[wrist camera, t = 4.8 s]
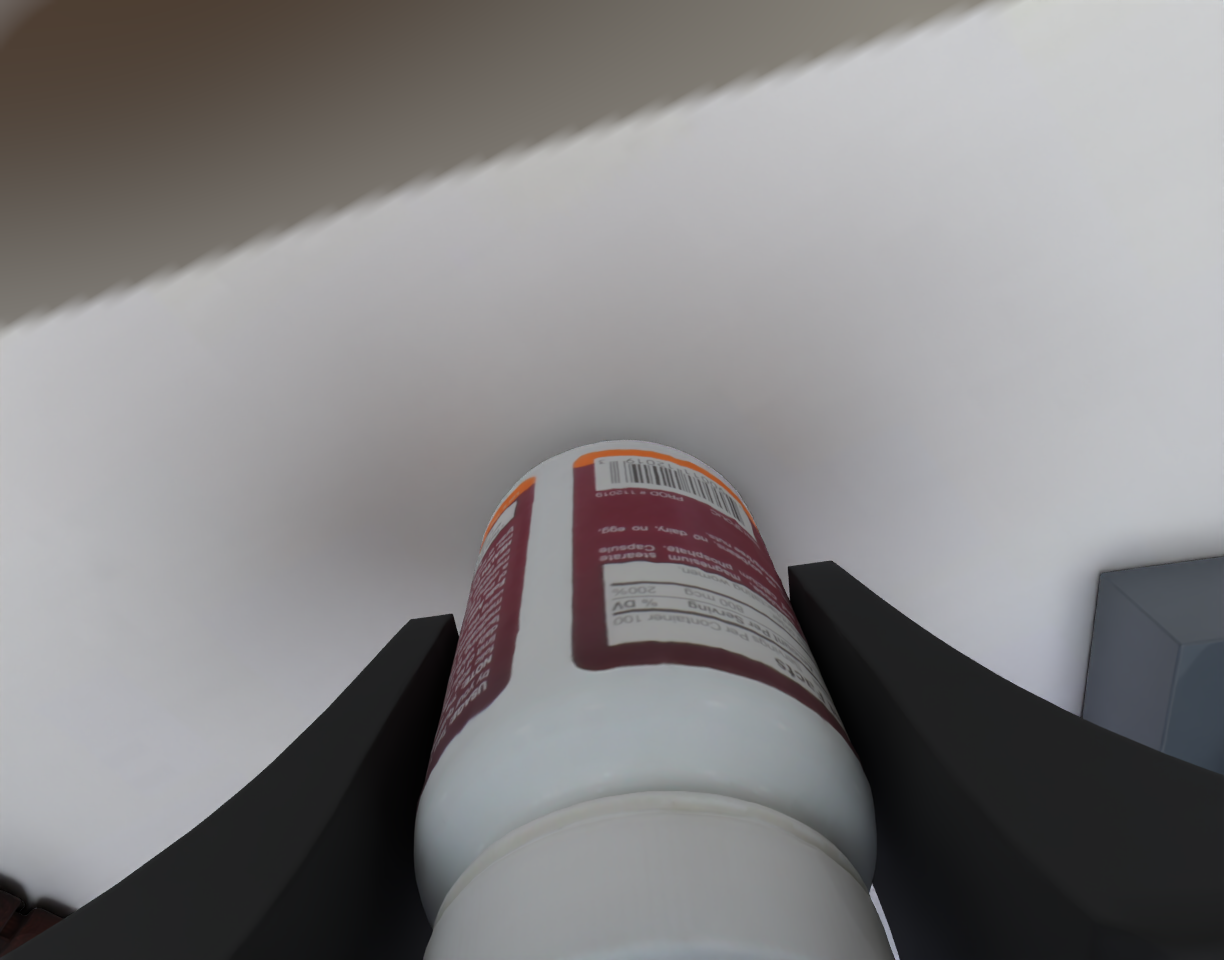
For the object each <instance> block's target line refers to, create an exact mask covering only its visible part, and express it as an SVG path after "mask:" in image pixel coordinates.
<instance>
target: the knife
mask: <svg viewBox="0 0 1224 960" xmlns="http://www.w3.org/2000/svg"><path fill="white" fill-rule="evenodd" d="M24 907H25V904H24V902H23V901H22V900H21V899H19V898H18V897H15V896H13V895H11V894H9V893H7V892H5V891H2V890H0V958H1V957H2V956H4V955H6V954H7V953H9V952H11V951H13V950H14V949H16V948H18V947H19V946H21V945H23V944H24V943H26V942H27V941H29V940H31V939H32V938H34V937H35V936H37V935H39V934H40V933H42V932H44V931H45V930H47V929H48V928H50V927H52V926H53V925H55V924H56V923H58V922H60V921H61V920H63V918H61V917H59V916H56V915H54V914H52V913H50V912H48V911H46V910H43V909H41V908H35V909H32V910H31V911H30V913H29V914H28V915H26V916H24V915H22V914H20V913H19V912H20V911H21V910H22V909H23V908H24Z"/></svg>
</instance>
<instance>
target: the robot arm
mask: <svg viewBox="0 0 1224 960" xmlns="http://www.w3.org/2000/svg"><path fill="white" fill-rule="evenodd" d="M788 576H789V592H790V602H791V605H792V608H793V610H794V613H795V615H796V617H797V620H798V622H799V624H800V626H801V629H802V631H803V634H804V636H805V638H806V640H807V642H808V645H809V647H810V650H811V652H812V654H813V657H814V659H815V661H816V663H817V665H818V668H819V670H820V673H821V676H822V678H823V681H824V683H825V685H826V687H827V689H828V691H829V693H830V696H831V698H832V701H833V703H834V705H835V708H836V710H837V712H838V714H839V717H840V719H841V721H842V723H843V725H844V728H845V730H846V732H847V734H848V737H849V739H850V741H851V744H852V745H853V747H854V749H855V750H856V752H857V754H858V755H859V758H860V761H861V763H862V766H863V769H864V772H865V774H866V777H867V779H868V782H869V784H870V787H871V792H872V797H873V802H874V810H875V820H876V830H877V857H876V865H875V871H874V877H873V881H872V884H873V886H874V888H875V891H876V893H877V896H878V898H879V901H880V904H881V906H882V909H883V911H884V914H885V917H886V919H887V922H888V924H889V927H890V930H891V933H892V936H893V939H894V942H895V946H896V949H897V952H898V955H899V958H900V960H1224V775H1222V774H1219V773H1216V772H1213V771H1211V770H1208V769H1205V768H1202V767H1200V766H1197V765H1194V764H1192V763H1189V762H1186V761H1184V760H1181V759H1178V758H1176V757H1173V756H1170V755H1168V754H1165V753H1163V752H1160V751H1158V750H1155V749H1153V748H1150V747H1148V746H1146V745H1143V744H1141V743H1138V742H1136V741H1134V740H1131V739H1129V738H1127V737H1124V736H1122V735H1119V734H1117V733H1115V732H1112V731H1110V730H1108V729H1105V728H1103V727H1100V726H1098V725H1096V724H1094V723H1092V722H1090V721H1087V720H1085V719H1083V718H1081V717H1079V716H1076V715H1074V714H1072V713H1070V712H1068V711H1066V710H1064V709H1062V708H1060V707H1058V706H1056V705H1054V704H1052V703H1050V702H1048V701H1046V700H1044V699H1042V698H1040V697H1038V696H1036V695H1034V694H1032V693H1031V692H1029V691H1027V690H1025V689H1023V688H1021V687H1019V686H1017V685H1015V684H1013V683H1011V682H1010V681H1008V680H1006V679H1004V678H1002V677H1001V676H999V675H997V674H995V673H994V672H992V671H990V670H989V669H987V668H985V667H984V666H982V665H980V664H979V663H977V662H975V661H974V660H972V659H970V658H969V657H967V656H965V655H964V654H962V653H961V652H959V651H957V650H956V649H954V648H952V647H951V646H949V645H948V644H946V643H945V642H943V641H942V640H940V639H939V638H937V637H936V636H934V635H933V634H931V633H930V632H928V631H927V630H925V629H924V628H922V627H921V626H919V625H918V624H916V623H915V622H914V621H912V620H911V619H909V618H908V617H906V616H905V615H904V614H902V613H901V612H899V611H898V610H897V609H895V608H894V607H893V606H891V605H890V604H888V603H887V602H886V601H884V600H883V599H882V598H880V597H879V596H878V595H876V594H875V593H874V592H872V591H871V590H870V589H869V588H867V587H866V586H865V585H863V584H862V583H861V582H859V581H858V580H857V579H855V578H854V577H853V576H851V575H850V574H849V573H848V572H846V571H845V570H844V569H842V568H841V567H840V566H838V565H837V564H836V563H834V562H833V561H824V562H817V563H810V564H803V565H796V566H789V567H788ZM458 640H459V635H458V631H457V628H456V624H455V620H454V617H453V614H446V615H439V616H432V617H424V618H417V619H411V620H410V621H409V622H408V623H407V624H406V625H405V626H404V627H402V629H401V630H400V631H399V632H398V633H397V634H396V635H395V636H394V637H393V638H392V639H391V640H390V641H389V642H388V644H387V645H386V646H385V647H384V648H383V649H382V650H381V651H380V652H379V653H378V654H377V656H376V657H375V658H374V659H373V660H372V661H371V662H370V663H369V664H368V665H367V667H366V668H365V669H364V670H363V671H362V672H361V673H360V674H359V675H358V676H357V677H356V678H355V680H354V681H353V682H352V683H351V684H350V685H349V686H348V687H347V688H346V689H345V690H344V691H343V692H342V693H341V694H340V696H339V697H338V698H337V699H336V700H335V701H334V702H333V703H332V704H331V705H330V706H329V707H328V708H327V709H326V710H325V711H324V712H323V713H322V714H321V715H320V716H319V717H318V718H317V719H316V720H315V721H314V722H313V723H312V724H311V725H310V726H309V727H308V728H307V729H306V730H305V731H304V732H303V733H302V734H301V735H300V736H299V737H298V738H297V739H296V740H295V741H294V742H293V743H292V744H291V745H289V746H288V747H287V748H286V749H285V750H284V751H283V752H282V753H281V754H280V755H279V756H278V757H277V758H276V759H275V760H274V761H273V762H272V763H271V764H270V765H269V766H268V767H266V768H265V769H264V770H263V771H262V772H261V773H260V774H259V775H258V776H256V777H255V778H254V779H253V780H252V781H251V782H250V783H248V784H247V785H246V786H245V787H244V788H243V789H241V790H240V791H239V792H238V793H237V794H235V795H234V796H233V797H232V798H231V799H229V800H228V801H227V802H226V803H224V804H223V805H222V806H221V807H220V808H218V809H217V810H216V811H215V812H214V813H212V814H211V815H210V816H209V817H207V818H206V819H205V820H204V821H202V822H201V823H200V824H199V825H197V826H196V827H195V828H193V829H192V830H191V831H190V832H188V833H187V834H185V835H184V836H183V837H181V838H180V839H179V840H177V841H176V842H174V843H173V844H172V845H170V846H169V847H167V848H166V849H165V850H163V851H162V852H161V853H159V854H158V855H156V856H155V857H154V858H152V859H151V860H150V861H148V862H147V863H145V864H144V865H143V866H141V867H140V868H139V869H137V870H136V871H134V872H133V873H132V874H130V875H129V876H128V877H126V878H125V879H123V880H122V881H121V882H119V883H118V884H116V885H115V886H113V887H112V888H110V889H109V890H107V891H106V892H104V893H103V894H101V895H100V896H98V897H97V898H95V899H94V900H92V901H91V902H89V903H88V904H86V905H85V906H83V907H81V908H80V909H78V910H77V911H75V912H74V913H72V914H71V915H69V916H68V917H66V918H65V919H63V920H61V921H60V922H58V923H56V924H55V925H53V926H52V927H50V928H48V929H47V930H45V931H44V932H42V933H40V934H39V935H37V936H35V937H34V938H32V939H31V940H29V941H27V942H26V943H24V944H23V945H21V946H19V947H18V948H16V949H14V950H13V951H11V952H9V953H7V954H6V955H4V956H2V957H1V958H0V960H423V958H424V954H425V950H426V947H427V945H428V943H429V940H430V938H431V935H432V932H433V929H432V927H431V925H430V923H429V921H428V918H427V916H426V913H425V910H424V908H423V905H422V902H421V898H420V894H419V890H418V886H417V882H416V876H415V867H414V830H415V820H416V809H417V802H418V799H419V797H420V794H421V792H422V789H423V786H424V782H425V778H426V773H427V769H428V764H429V760H430V756H431V751H432V748H433V743H434V739H435V736H436V732H437V729H438V725H439V721H440V717H441V713H442V709H443V704H444V699H445V695H446V690H447V686H448V681H449V677H450V673H451V669H452V665H453V661H454V657H455V653H456V648H457V644H458Z"/></svg>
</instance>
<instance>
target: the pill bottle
mask: <svg viewBox="0 0 1224 960" xmlns="http://www.w3.org/2000/svg"><path fill="white" fill-rule="evenodd" d="M876 857H877V830H876V820H875V810H874V802H873V797H872V792H871V787H870V784H869V782H868V779H867V777H866V774H865V772H864V769H863V766H862V763H861V761H860V758H859V755H858V754H857V752H856V750H855V749H854V747H853V745H852V744H851V741H850V739H849V737H848V734H847V732H846V730H845V728H844V725H843V723H842V721H841V719H840V717H839V714H838V712H837V710H836V708H835V705H834V703H833V701H832V698H831V696H830V693H829V691H828V689H827V687H826V685H825V683H824V681H823V678H822V676H821V673H820V670H819V668H818V665H817V663H816V661H815V659H814V657H813V654H812V652H811V650H810V647H809V645H808V642H807V640H806V638H805V636H804V634H803V631H802V629H801V626H800V624H799V622H798V620H797V617H796V615H795V613H794V610H793V608H792V605H791V602H790V600H789V598H788V596H787V594H786V592H785V589H784V587H783V585H782V582H781V579H780V578H779V576H778V574H777V572H776V570H775V568H774V565H773V562H772V560H771V558H770V556H769V553H768V551H767V548H766V546H765V544H764V542H763V540H762V538H761V535H760V533H759V531H758V529H757V526H756V524H755V521H754V519H753V517H752V515H751V513H750V511H749V509H748V507H747V506H746V504H745V503H744V501H743V499H742V498H741V496H740V495H739V493H738V492H737V491H736V490H735V488H734V487H733V486H732V485H731V484H730V483H729V482H728V481H727V480H726V479H725V478H724V477H722V476H721V475H720V474H719V473H718V472H717V471H715V470H714V469H712V468H711V467H709V466H708V465H706V464H705V463H703V462H702V461H700V460H699V459H697V458H696V457H694V456H691V455H689V454H687V453H685V452H683V451H680V450H678V449H675V448H672V447H669V446H665V445H662V444H658V443H654V442H646V441H641V440H615V441H602V442H598V443H593V444H587V445H584V446H580V447H577V448H574V449H571V450H568V451H566V452H563V453H561V454H559V455H556V456H554V457H551V458H549V459H547V460H545V461H544V462H542V463H541V464H539V465H538V466H536V467H534V468H532V469H531V470H530V471H529V472H528V473H526V474H525V475H524V476H523V477H522V478H521V479H520V480H519V481H518V482H517V483H516V484H515V485H514V486H513V487H512V488H511V489H510V490H509V492H508V493H507V494H506V495H505V496H504V498H503V499H502V500H501V502H500V503H499V505H498V507H497V508H496V510H495V511H494V513H493V515H492V517H491V519H490V521H489V523H488V526H487V529H486V531H485V534H484V536H483V540H482V544H481V549H480V553H479V556H478V559H477V563H476V568H475V572H474V576H473V581H472V585H471V590H470V595H469V599H468V603H467V608H466V612H465V616H464V619H463V623H462V627H461V631H460V636H459V640H458V644H457V648H456V653H455V657H454V661H453V665H452V669H451V673H450V677H449V681H448V686H447V690H446V695H445V699H444V704H443V709H442V713H441V717H440V721H439V725H438V729H437V732H436V736H435V739H434V743H433V748H432V751H431V756H430V760H429V764H428V769H427V773H426V778H425V782H424V786H423V789H422V792H421V794H420V797H419V799H418V802H417V809H416V820H415V830H414V867H415V876H416V882H417V886H418V890H419V894H420V898H421V902H422V905H423V908H424V910H425V913H426V916H427V918H428V921H429V923H430V925H431V927H432V929H433V932H432V935H431V938H430V940H429V943H428V945H427V947H426V950H425V954H424V958H423V960H895V958H894V955H893V953H892V950H891V947H890V945H889V942H888V939H887V935H886V932H885V930H884V927H883V925H882V922H881V920H880V917H879V915H878V913H877V911H876V908H875V906H874V904H873V902H872V900H871V897H870V895H869V892H870V888H871V884H872V881H873V877H874V871H875V865H876Z"/></svg>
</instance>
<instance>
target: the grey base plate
mask: <svg viewBox="0 0 1224 960" xmlns="http://www.w3.org/2000/svg"><path fill="white" fill-rule="evenodd" d="M1082 718H1083V719H1085V720H1087V721H1090V722H1092V723H1094V724H1096V725H1098V726H1100V727H1103V728H1105V729H1108V730H1110V731H1112V732H1115V733H1117V734H1119V735H1122V736H1124V737H1127V738H1129V739H1131V740H1134V741H1136V742H1138V743H1141V744H1143V745H1146V746H1148V747H1150V748H1153V749H1155V750H1158V751H1160V752H1163V753H1165V754H1168V755H1170V756H1173V757H1176V758H1178V759H1181V760H1184V761H1186V762H1189V763H1192V764H1194V765H1197V766H1200V767H1202V768H1205V769H1208V770H1211V771H1213V772H1216V773H1219V774H1222V775H1224V556H1222V557H1215V558H1207V559H1200V560H1193V561H1186V562H1178V563H1171V564H1164V565H1157V566H1149V567H1142V568H1135V569H1127V570H1120V571H1113V572H1106V573H1102V574H1101V575H1100V583H1099V591H1098V598H1097V606H1096V614H1095V622H1094V630H1093V637H1092V645H1091V653H1090V661H1089V669H1088V676H1087V684H1086V692H1085V700H1084V708H1083V715H1082Z"/></svg>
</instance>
